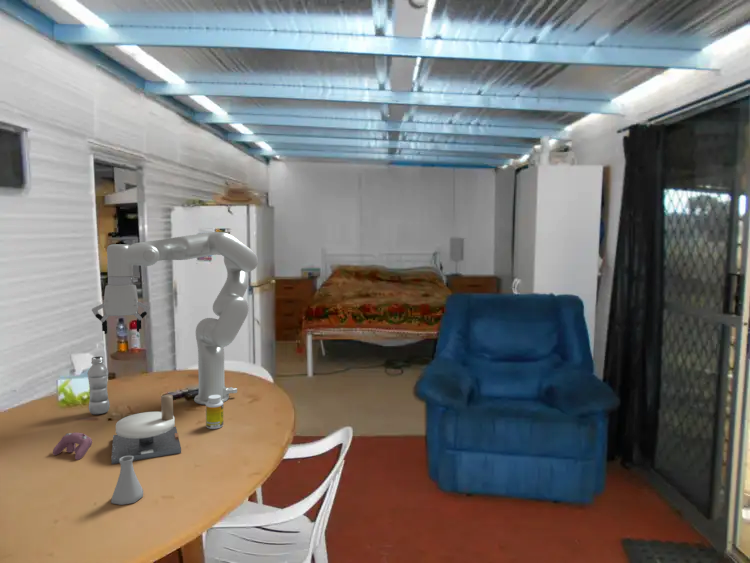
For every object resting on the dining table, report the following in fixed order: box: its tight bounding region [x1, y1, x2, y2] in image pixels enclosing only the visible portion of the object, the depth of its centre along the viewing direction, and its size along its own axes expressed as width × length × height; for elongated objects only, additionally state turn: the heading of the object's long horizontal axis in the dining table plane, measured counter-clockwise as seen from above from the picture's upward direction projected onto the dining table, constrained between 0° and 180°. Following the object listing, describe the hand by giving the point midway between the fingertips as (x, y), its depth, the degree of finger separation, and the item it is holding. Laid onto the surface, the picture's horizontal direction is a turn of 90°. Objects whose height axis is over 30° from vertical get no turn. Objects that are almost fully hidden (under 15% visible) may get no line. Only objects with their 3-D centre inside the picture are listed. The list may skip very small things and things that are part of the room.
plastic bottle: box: [87, 356, 111, 415], centre depth 176 cm, size 6×7×20 cm
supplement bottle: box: [205, 395, 224, 430], centre depth 167 cm, size 6×6×10 cm
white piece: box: [115, 394, 176, 438], centre depth 150 cm, size 16×16×9 cm
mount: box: [111, 425, 182, 465], centre depth 150 cm, size 18×18×6 cm
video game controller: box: [52, 432, 93, 461], centre depth 145 cm, size 10×5×7 cm, turn 72°
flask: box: [110, 456, 144, 506], centre depth 121 cm, size 7×7×10 cm
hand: (122, 332), depth 168 cm, fingers open, 9 cm apart
